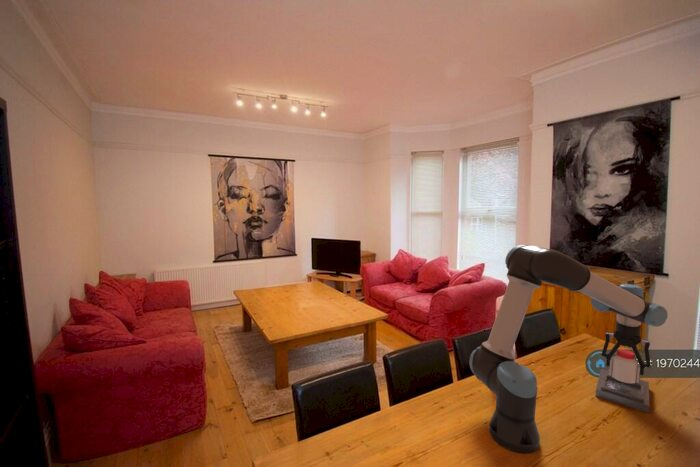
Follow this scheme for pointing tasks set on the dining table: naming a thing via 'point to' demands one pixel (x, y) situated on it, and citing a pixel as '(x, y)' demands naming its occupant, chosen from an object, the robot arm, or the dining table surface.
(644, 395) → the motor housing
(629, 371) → the pill bottle
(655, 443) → the dining table surface
